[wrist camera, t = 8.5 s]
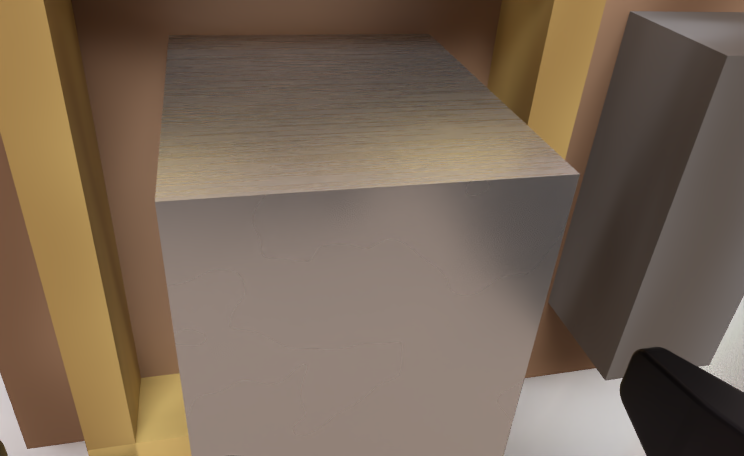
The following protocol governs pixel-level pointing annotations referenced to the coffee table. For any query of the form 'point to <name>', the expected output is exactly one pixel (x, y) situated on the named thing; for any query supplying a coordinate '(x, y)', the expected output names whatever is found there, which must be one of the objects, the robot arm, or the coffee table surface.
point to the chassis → (360, 16)
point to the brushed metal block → (350, 245)
